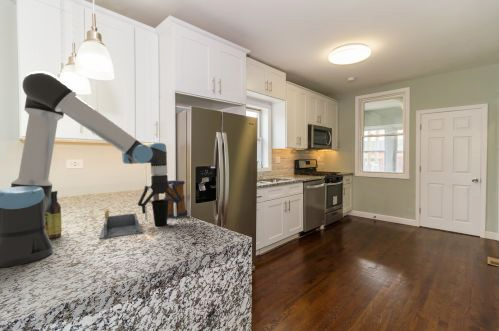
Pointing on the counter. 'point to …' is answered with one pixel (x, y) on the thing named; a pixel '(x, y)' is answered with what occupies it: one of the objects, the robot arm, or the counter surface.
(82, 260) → the counter surface
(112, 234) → the tray
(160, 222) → the cup
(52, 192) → the sauce bottle
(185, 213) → the mug
